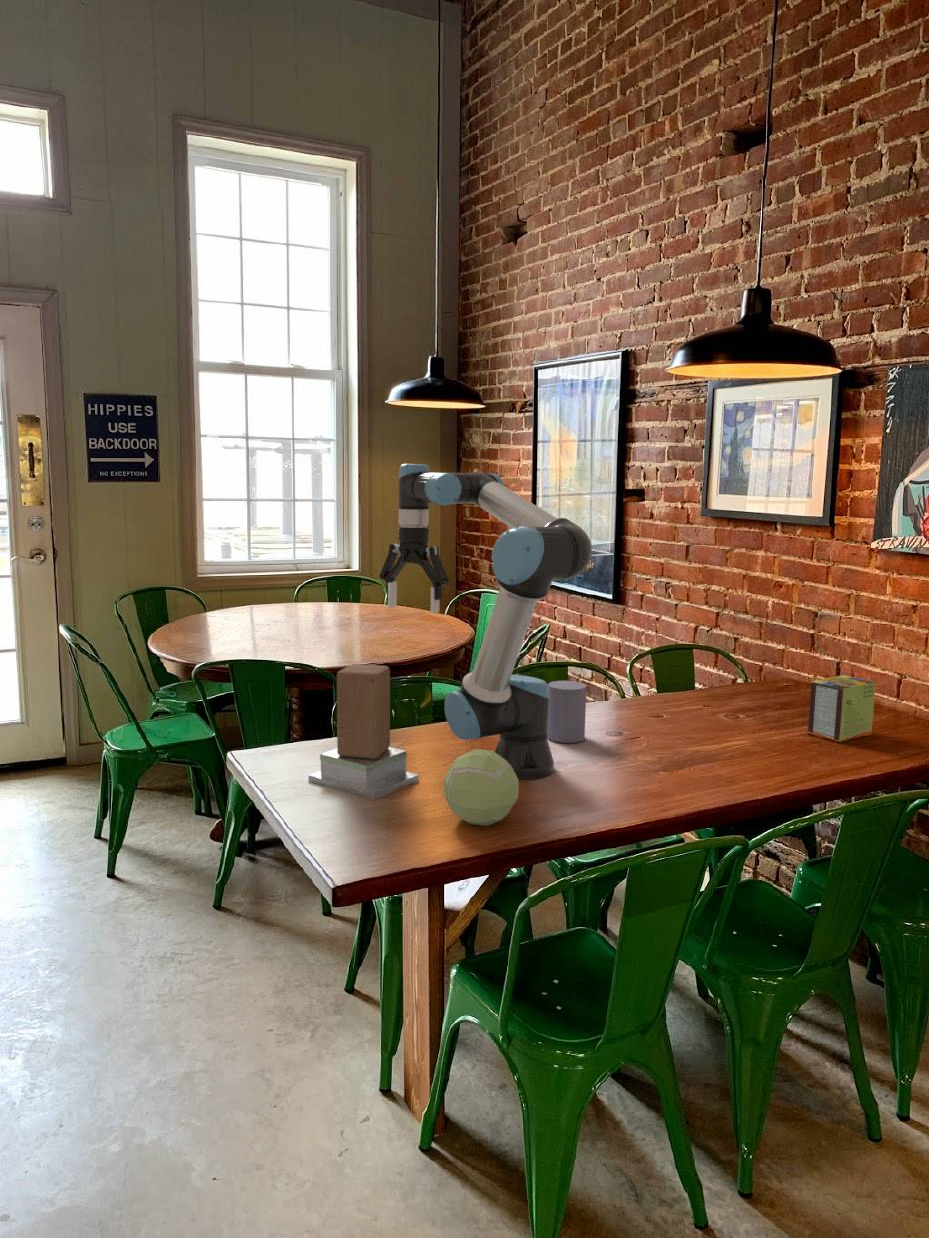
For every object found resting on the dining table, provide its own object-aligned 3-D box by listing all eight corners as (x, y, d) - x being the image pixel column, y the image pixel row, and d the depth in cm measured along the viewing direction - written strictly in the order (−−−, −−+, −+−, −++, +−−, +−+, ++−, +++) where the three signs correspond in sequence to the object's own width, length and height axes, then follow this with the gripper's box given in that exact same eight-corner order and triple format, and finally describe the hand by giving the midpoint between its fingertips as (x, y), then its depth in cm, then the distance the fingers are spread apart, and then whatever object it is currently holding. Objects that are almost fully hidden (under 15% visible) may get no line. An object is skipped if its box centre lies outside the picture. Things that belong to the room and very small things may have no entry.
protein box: (872, 735, 262) (876, 681, 260) (839, 743, 254) (843, 688, 251) (839, 726, 271) (843, 674, 268) (806, 734, 262) (810, 680, 260)
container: (541, 741, 252) (543, 687, 250) (552, 731, 262) (554, 679, 259) (578, 745, 249) (580, 691, 246) (588, 735, 258) (590, 682, 256)
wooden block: (377, 760, 211) (377, 674, 208) (335, 756, 214) (335, 671, 210) (391, 747, 221) (391, 665, 218) (351, 744, 223) (350, 662, 220)
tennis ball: (456, 805, 204) (457, 739, 201) (523, 813, 200) (525, 745, 197) (435, 830, 190) (435, 759, 187) (506, 839, 185) (508, 767, 183)
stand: (418, 780, 219) (418, 752, 218) (373, 800, 206) (373, 769, 205) (355, 764, 231) (354, 736, 229) (308, 781, 218) (308, 752, 217)
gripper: (463, 527, 230) (462, 612, 234) (384, 523, 244) (384, 603, 248) (445, 529, 224) (444, 616, 228) (365, 524, 238) (366, 606, 242)
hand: (413, 609), depth 238 cm, fingers open, 13 cm apart
